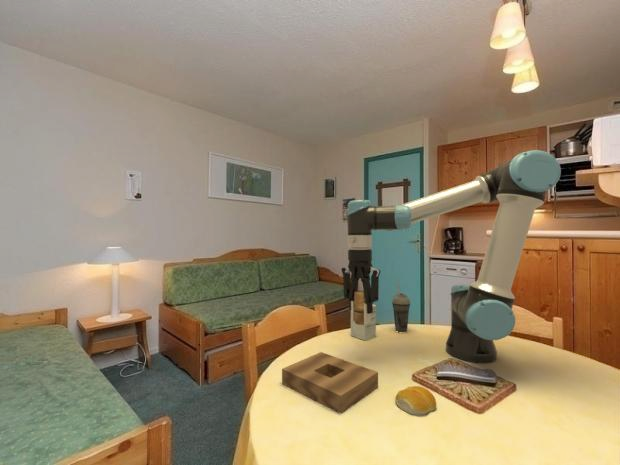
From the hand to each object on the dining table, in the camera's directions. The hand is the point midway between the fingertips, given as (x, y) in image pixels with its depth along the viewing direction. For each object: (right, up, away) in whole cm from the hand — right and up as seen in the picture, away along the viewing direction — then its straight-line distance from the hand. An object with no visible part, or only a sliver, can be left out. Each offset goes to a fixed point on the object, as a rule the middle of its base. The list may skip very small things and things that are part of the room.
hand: (361, 321), depth 97 cm
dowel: (0, 0, 0) cm, 0 cm away
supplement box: (+5, -13, +23) cm, 27 cm away
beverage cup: (+22, -13, +29) cm, 38 cm away
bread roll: (+9, -13, -25) cm, 30 cm away
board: (-11, -12, -16) cm, 23 cm away
